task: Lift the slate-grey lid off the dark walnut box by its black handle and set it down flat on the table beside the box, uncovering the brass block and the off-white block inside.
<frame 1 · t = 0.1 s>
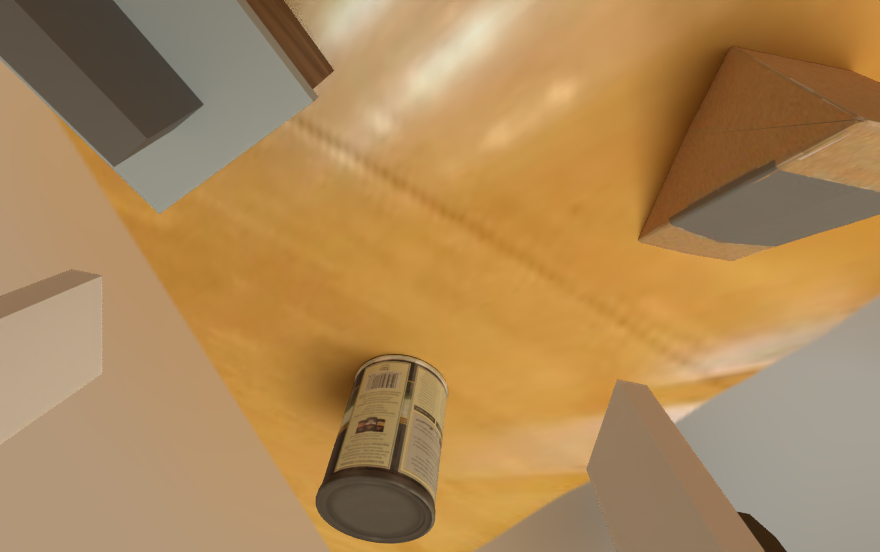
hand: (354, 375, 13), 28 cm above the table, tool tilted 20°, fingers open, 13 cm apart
box: (195, 37, 35), on the table
coffee can: (402, 386, 54), on the table
sandwich container: (729, 165, 37), on the table
lid: (146, 55, 30), point 6 cm above the table, touching box
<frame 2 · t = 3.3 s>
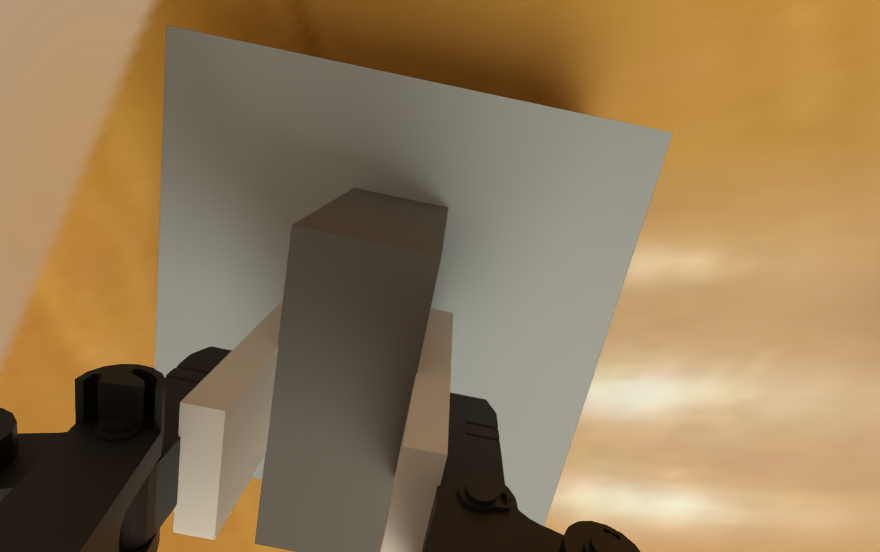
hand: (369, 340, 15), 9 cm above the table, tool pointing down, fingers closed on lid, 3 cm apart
lid: (384, 304, 18), point 6 cm above the table, touching box, gripper
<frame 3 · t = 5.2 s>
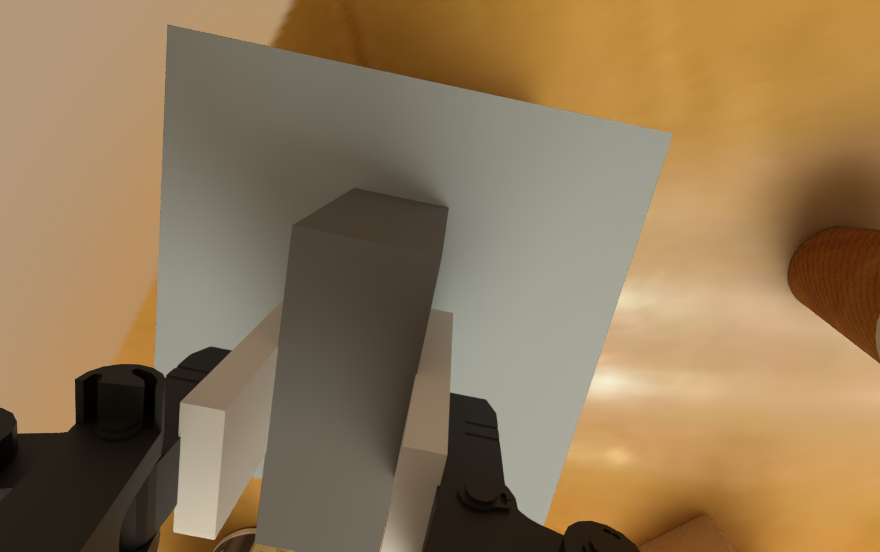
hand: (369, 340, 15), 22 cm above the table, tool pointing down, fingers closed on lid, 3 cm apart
disposable coffee cup: (830, 268, 37), on the table
lid: (384, 304, 18), point 19 cm above the table, touching gripper
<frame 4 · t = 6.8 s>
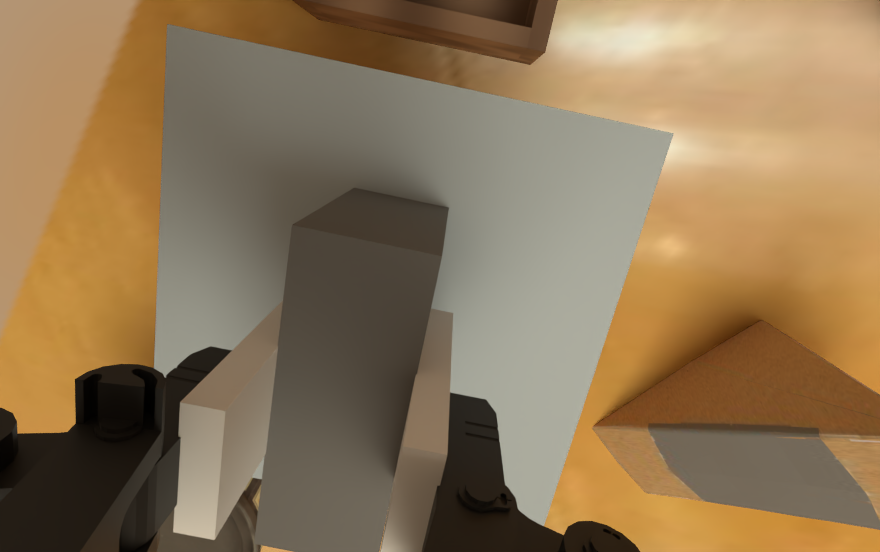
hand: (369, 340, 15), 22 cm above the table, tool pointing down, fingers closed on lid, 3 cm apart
coffee can: (262, 401, 41), on the table
sandwich container: (697, 409, 40), on the table
lid: (384, 304, 18), point 19 cm above the table, touching gripper
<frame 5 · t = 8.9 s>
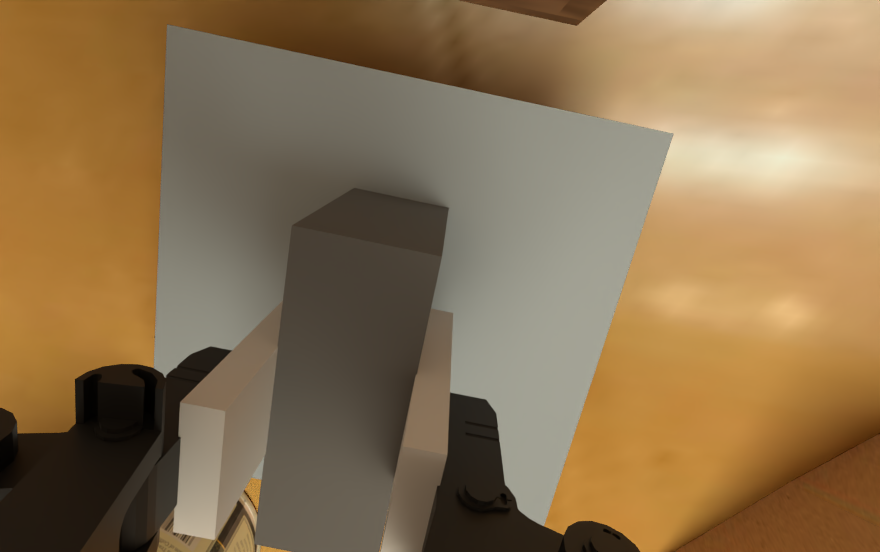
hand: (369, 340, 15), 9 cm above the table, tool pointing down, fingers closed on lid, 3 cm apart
coffee can: (176, 523, 28), on the table
sandwich container: (798, 544, 27), on the table
lid: (384, 305, 18), point 6 cm above the table, touching gripper
when the fingers open (4 cm above the table, at t = 10.4 s): lid drops 2 cm, on the table.
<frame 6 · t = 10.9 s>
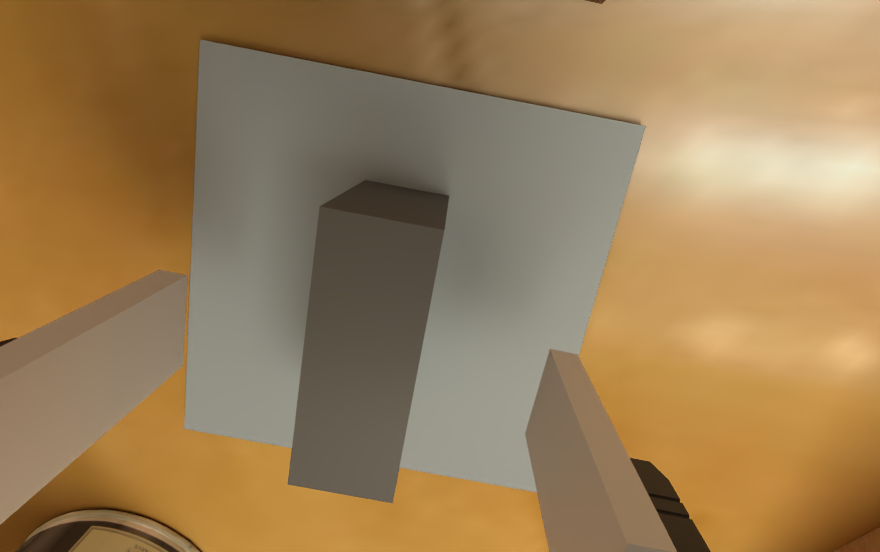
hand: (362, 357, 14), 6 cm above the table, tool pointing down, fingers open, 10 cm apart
lid: (393, 285, 20), on the table
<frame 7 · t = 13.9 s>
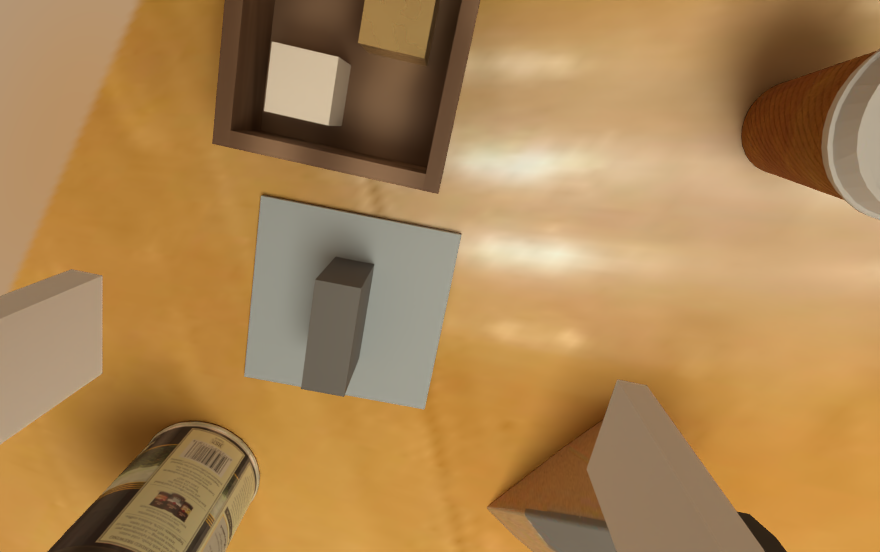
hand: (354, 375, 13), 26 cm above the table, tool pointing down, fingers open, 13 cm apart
disposable coffee cup: (784, 128, 35), on the table
box: (362, 61, 34), on the table
coffee can: (204, 470, 44), on the table
sandwich container: (579, 485, 44), on the table
off-white block: (317, 89, 34), point 1 cm above the table, touching box
brass block: (403, 27, 33), point 1 cm above the table, touching box
lid: (350, 304, 40), on the table
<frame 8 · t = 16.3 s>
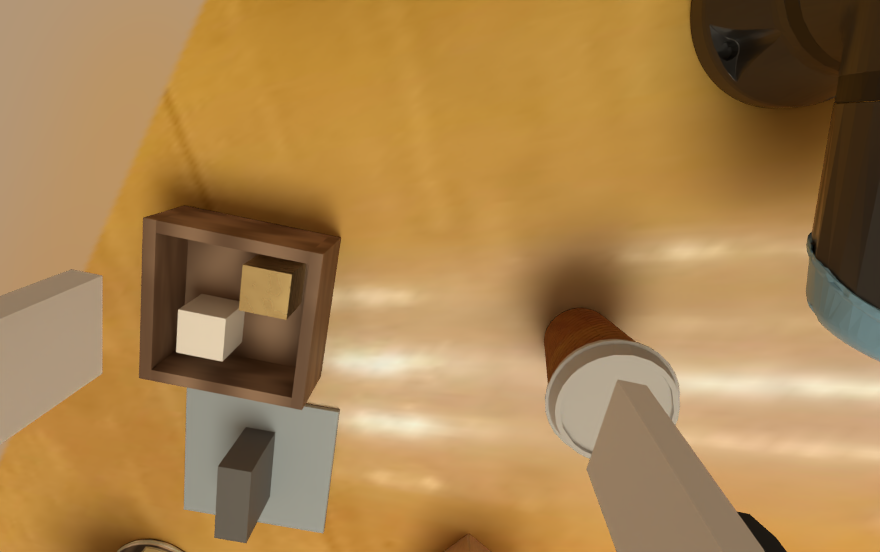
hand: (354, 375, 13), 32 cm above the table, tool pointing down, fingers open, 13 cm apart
disposable coffee cup: (577, 338, 47), on the table
box: (255, 294, 46), on the table
off-white block: (222, 318, 46), point 1 cm above the table, touching box
brass block: (281, 278, 45), point 1 cm above the table, touching box
lid: (261, 456, 52), on the table
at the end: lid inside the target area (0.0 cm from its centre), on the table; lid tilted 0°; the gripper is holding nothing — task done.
